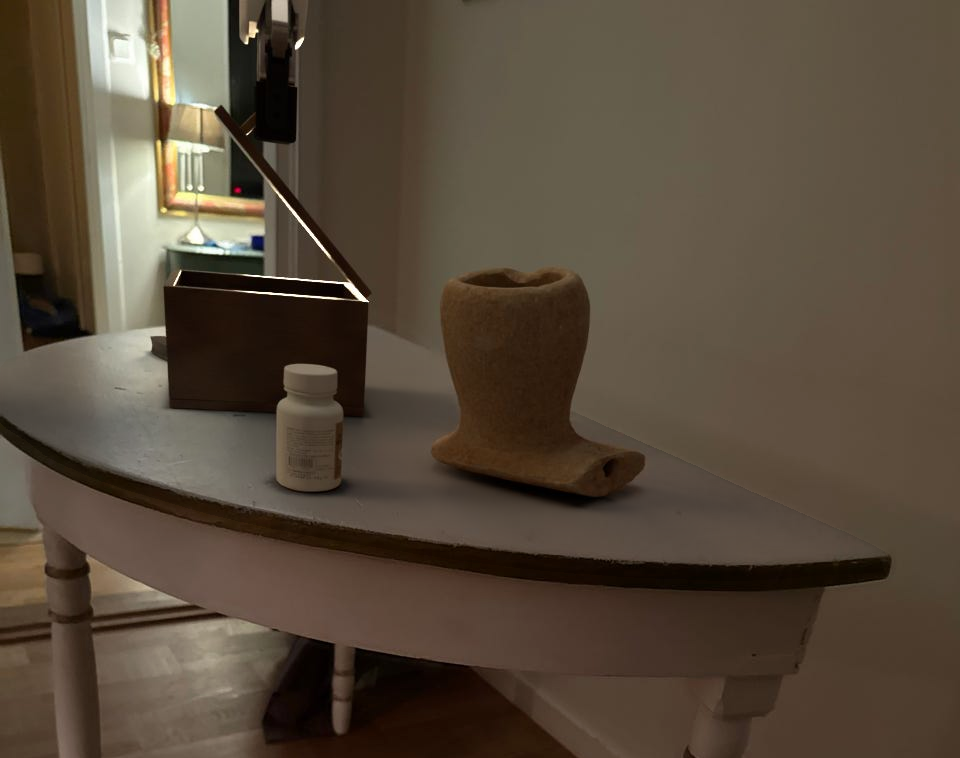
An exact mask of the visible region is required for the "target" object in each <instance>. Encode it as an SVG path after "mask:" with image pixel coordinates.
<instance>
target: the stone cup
mask: <svg viewBox="0 0 960 758" xmlns="http://www.w3.org/2000/svg"><path fill="white" fill-rule="evenodd" d="M439 319H440V321H439V323H440V329H441V335H442V342H443V348H444V354H445V358H446V363H447V367H448V370H449V374H450V377H451V380H452V383H453V384H452V385H453V387H454V391H455V395H456V397H457V401H458V402H457V403H458V406H459V412H460V414H459V420H458V425H457V427H456V428H455V430H454V431H452V432H450V433H448V434H446V435H444V436H442V437H440V438H439V439H437V440H436V441H435V442H433V444H432V445H431V447H430V454H431V456H432V458H434V459H435V460H436V461H437V462H439V463H442V464H445V465H448V466H451V467H454V468H457V469H460V470H464V471H467V472H471V473H475V474H481V475H485V476H489V477H493V478H497V479H502V480H505V481H506V480H507V481H511V482H515V483H521V484H526V485H531V486H535V487H541V488H545V489H550V490H555V491H561V492H565V493H571V494H575V495H576V494H577V495H581V496H584V497H585V496H586V497H594V498H599V497H604V496H606V495H609V494H612V493H614V492H616V491H618V490H620V489H622V488H624V487H625V486H626V485H627V484H629V483H631V482H633V481H634V479H635V478H636V477H637V476H638V475H640V474H641V473H642V472H643V471H644V469H645V466H646V455H645V454H643V453H641V452H640V451H637V450H633V449H628V448H624V447H620V446H615V445H611V444H609V443H608V444H607V443H604V442H600V441H596V440H591V439H589V438H586V437H584V436H582V435H581V434H579V433H577V432H576V429H574V427H573V426H572V423H571V419H570V417H571V408H572V402H573V398H574V394H575V391H576V387H577V384H578V380H579V377H580V374H581V372H582V366H583V363H584V359H585V355H586V351H587V347H588V341H589V333H590V324H591V322H590V321H591V302H590V297H589V292H588V290H587V288H586V286H585V283H584V281H583V279H582V277H581V276H580V275H579V274H578V273H577V272H575V271H573V270H572V269H569V268H562V267H558V266H544V267H541V268H539V269H538V270H534V271H531V272H527V273H526V272H523V271H519V270H516V269H513V268H508V267H493V268H492V267H491V268H484V269H479V270H473V271H469V272H466V273H464V274H461V275H456V276H453V277H452V278H450V279H449V280H448V282H446V284H445V285H444V287H443V290H442V292H441V296H440V303H439Z"/></svg>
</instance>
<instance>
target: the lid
mask: <svg viewBox="0 0 960 758" xmlns="http://www.w3.org/2000/svg"><path fill="white" fill-rule="evenodd" d="M213 113H214V115H215V118H216V120H217V122H218V123H219V124H220V125H221V126H222V128H223V129H224V130H225V131H226V133H227V134H228V135H229V137H230V138H231V139H232V140H233V141H234V143H235V144H236V145H237V146H238V148H239V149H240V150H241V151H242V153H243V154H244V155H245V156H246V157H247V159H248V160H249V161H250V163H252V165H253V166H254V168H256V170H257V171H258V172H259V174H260V175H261V176H262V177H263V178H264V179H265V181H266V182H267V183H268V184H269V185H270V187H271V188H272V189H273V191H274V192H275V193H276V195H278V198H280V199H281V201H282V202H283V203H284V204H285V206H286V207H287V208H288V209H289V211H290V212H291V213H292V214H293V215H294V217H295V218H296V219H297V220H298V222H299V223H300V224H301V225H302V227H304V229H305V230H306V231H307V233H308V234H309V236H311V237H312V239H313V240H314V242H315V243H316V244H317V245H318V246H319V248H320V249H321V250H322V251H323V252H324V254H325V255H326V256H327V257H328V258H329V260H330V261H331V262H332V264H333V265H334V266H335V268H337V270H338V271H339V272H340V273H341V274H342V276H343V277H344V279H346V280H347V283H350V284H351V285H352V286H353V287H354V288H355V289H356V290H357V291H358V292H359V293H360V294H361V295H362V296H363V297H364V298H365V299H366V300H367V298H369V296H371V295H372V294H373V291H372V290H371V289H370V288H369V286H367V284H366V283H365V281H364V280H363V279H362V278H361V276H360V275H359V273H357V272H356V271H355V269H354V268H353V266H352V265H351V264H350V263H349V262H348V260H347V259H346V258H345V257H344V255H343V254H342V253H341V252H340V251H339V249H338V247H336V246H335V244H334V243H333V241H332V240H331V239H330V238H329V237H328V236H327V234H326V233H325V231H324V230H323V229H322V228H321V227H320V226H319V224H318V223H317V221H316V220H315V219H314V218H313V217H312V216H311V214H310V213H309V211H308V210H307V208H305V207H304V206H303V204H302V203H301V201H300V200H299V199H298V198H297V197H296V195H295V194H294V193H293V191H291V189H290V188H289V187H288V185H287V184H286V183H285V181H283V179H282V178H281V176H280V175H279V174H278V173H277V172H276V170H275V169H274V168H273V166H272V165H271V164H270V163H269V161H267V159H266V158H265V157H264V155H263V154H262V153H261V152H260V150H259V149H258V148H257V147H256V146H255V144H254V143H253V141H251V139H250V138H249V137H248V135H249V134H251V132H252V131H254V128H255V127H256V112H255V113H254V112H253V113H252V114H251V116H250V117H249V118H248V119H247V120H246V121H245V122H244V123H243V124H242V125H239V124H238V123H237V121H235V119H234V118H233V117H232V116H231V114H230V113H229V112H228V110H227V109H226V108H225V107H224V106H223V105H222V104H220V105H218V106H217V108H215V110H213Z"/></svg>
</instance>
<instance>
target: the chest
mask: <svg viewBox="0 0 960 758" xmlns="http://www.w3.org/2000/svg"><path fill="white" fill-rule="evenodd" d="M162 288H163V308H164V327H165V337H166V348H167V360H166V364H167V384H168V385H167V386H168V401H169V402H168V403H169V404H168V405H169V408H170V409H190V410H209V411H210V410H212V411H234V412H235V411H236V412H253V413H254V412H255V413H275V414H277V405H278V403H279V402H280V401H281V400H282V399H284V398H286V397H287V391H285V390H284V387H285V386H284V384H283V383H284V368H285V366H287V365H292V364H313V365H321V366H326V367H330V368H333V369H335V370H336V371H337V389H336V391H337V393H336V394H334V395H333V400H334V401H336V402H337V403H339V404H340V405H341V407H342V409H343V417H345V416H346V417H364V415H365V396H366V395H365V394H366V377H367V376H366V375H367V374H366V373H367V351H368V349H367V348H368V329H369V328H368V327H369V326H368V325H369V306H370V301H368V300H367V298H366V299H365V298H364V297H363V296H362V295H361V294H360V293H359V292H358V291H357V290H356V289H355V288H354V287H353V286H352V285H351V284H350V283H349V282H340V281H339V282H338V281H328V280H327V281H326V280H316V279H315V280H313V279H301V278H290V277H277V276H266V275H265V276H264V275H252V274H242V273H229V272H218V271H206V270H205V271H204V270H193V269H181V268H172V270H171V272H170V274H169V276H168V278H167V279H166V281H165V283H164V285H163V287H162Z"/></svg>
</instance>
